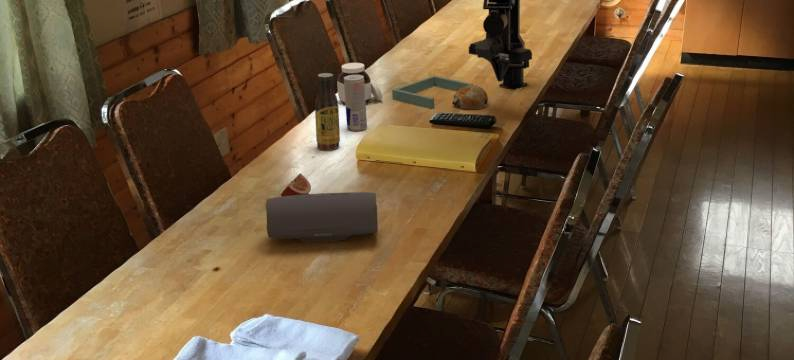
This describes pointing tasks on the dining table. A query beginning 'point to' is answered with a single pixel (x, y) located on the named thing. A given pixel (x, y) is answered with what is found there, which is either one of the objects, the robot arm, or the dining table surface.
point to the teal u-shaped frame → (409, 90)
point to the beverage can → (355, 102)
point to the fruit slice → (297, 187)
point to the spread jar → (370, 85)
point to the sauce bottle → (327, 114)
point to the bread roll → (470, 98)
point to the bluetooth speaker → (322, 216)
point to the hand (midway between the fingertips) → (499, 81)
